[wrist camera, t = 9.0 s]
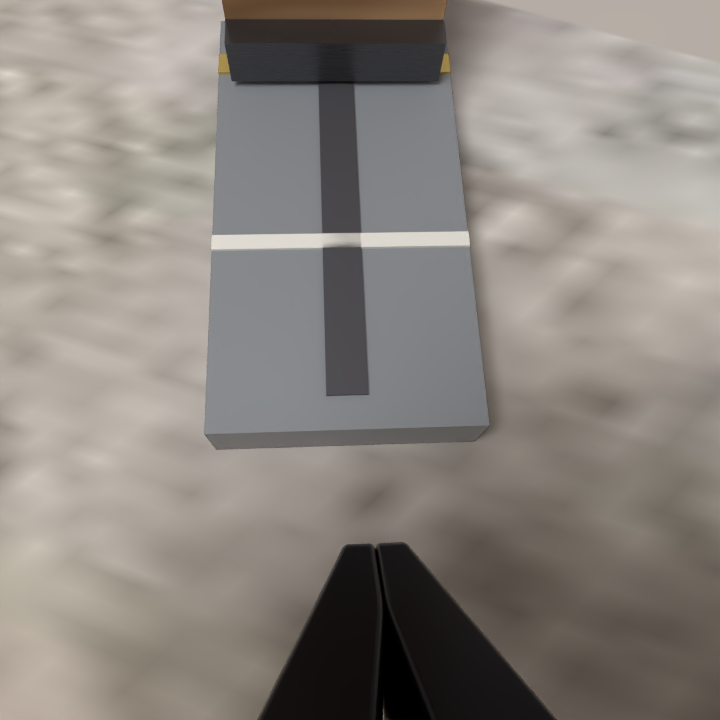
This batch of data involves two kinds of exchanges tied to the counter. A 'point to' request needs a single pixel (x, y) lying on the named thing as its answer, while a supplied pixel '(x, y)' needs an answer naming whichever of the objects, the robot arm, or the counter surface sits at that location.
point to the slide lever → (334, 40)
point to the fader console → (340, 267)
